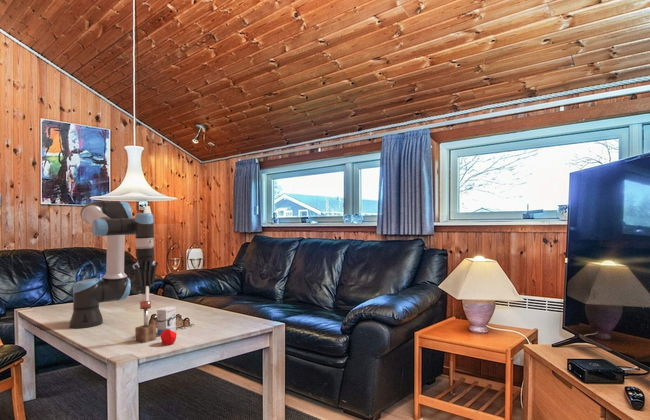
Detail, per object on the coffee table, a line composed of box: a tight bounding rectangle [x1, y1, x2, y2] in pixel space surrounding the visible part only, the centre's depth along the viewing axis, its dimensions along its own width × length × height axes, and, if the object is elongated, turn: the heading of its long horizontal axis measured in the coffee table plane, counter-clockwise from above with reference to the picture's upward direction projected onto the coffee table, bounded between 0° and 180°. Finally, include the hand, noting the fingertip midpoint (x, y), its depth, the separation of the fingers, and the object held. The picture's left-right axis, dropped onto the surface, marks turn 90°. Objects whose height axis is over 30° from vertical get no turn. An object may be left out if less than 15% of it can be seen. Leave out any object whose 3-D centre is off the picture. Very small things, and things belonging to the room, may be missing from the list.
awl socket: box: [134, 324, 157, 343], centre depth 184 cm, size 6×6×6 cm
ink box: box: [156, 305, 177, 336], centre depth 196 cm, size 8×5×12 cm, turn 167°
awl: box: [139, 300, 152, 327], centre depth 185 cm, size 4×4×15 cm
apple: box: [159, 329, 178, 346], centre depth 179 cm, size 7×7×8 cm
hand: (145, 300), depth 185 cm, fingers closed
